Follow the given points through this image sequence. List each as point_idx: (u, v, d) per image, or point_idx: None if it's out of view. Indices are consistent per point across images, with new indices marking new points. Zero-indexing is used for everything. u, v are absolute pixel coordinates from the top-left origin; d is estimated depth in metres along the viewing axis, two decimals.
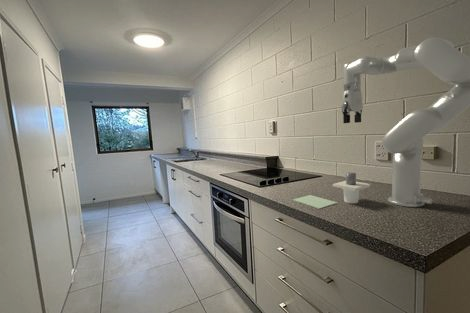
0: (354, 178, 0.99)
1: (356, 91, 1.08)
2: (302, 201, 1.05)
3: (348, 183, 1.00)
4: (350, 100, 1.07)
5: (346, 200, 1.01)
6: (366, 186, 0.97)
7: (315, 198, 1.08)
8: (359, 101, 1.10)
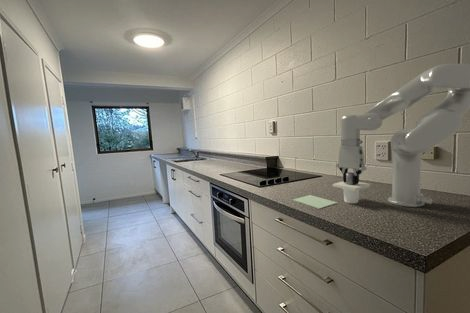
0: None
1: None
2: (302, 201, 1.05)
3: (348, 183, 1.00)
4: (363, 157, 0.96)
5: (346, 200, 1.01)
6: (366, 186, 0.97)
7: (315, 198, 1.08)
8: None
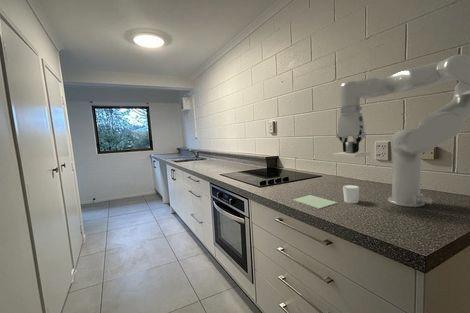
0: None
1: None
2: (302, 201, 1.05)
3: (348, 152, 0.98)
4: (363, 124, 0.95)
5: (346, 200, 1.01)
6: (366, 154, 0.96)
7: (315, 198, 1.08)
8: None
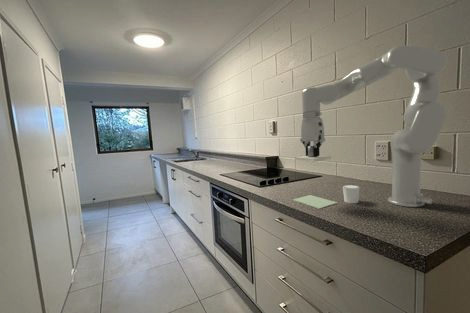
0: None
1: None
2: (302, 201, 1.05)
3: (309, 155, 1.01)
4: (323, 129, 0.98)
5: (346, 200, 1.01)
6: (326, 158, 0.99)
7: (315, 198, 1.08)
8: None
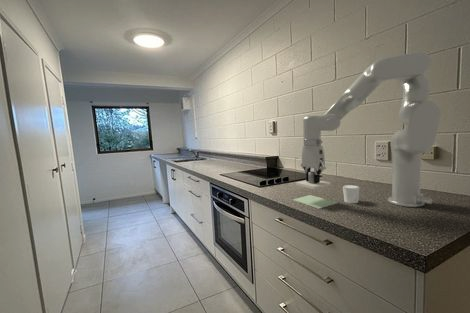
0: None
1: None
2: (302, 201, 1.05)
3: (310, 182, 1.03)
4: (324, 157, 0.99)
5: (346, 200, 1.01)
6: (326, 185, 1.00)
7: (315, 198, 1.08)
8: None
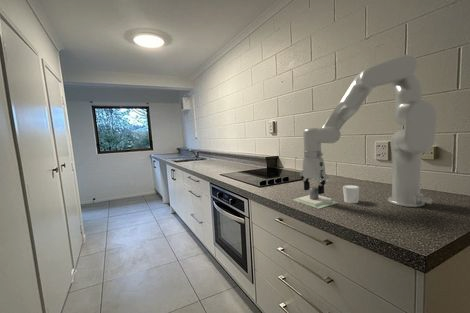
0: (316, 193, 1.02)
1: None
2: None
3: (311, 198, 1.03)
4: (324, 169, 1.00)
5: (346, 200, 1.01)
6: (327, 201, 1.01)
7: None
8: None
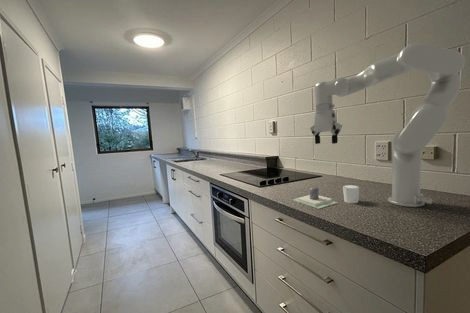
0: (316, 193, 1.02)
1: None
2: None
3: (311, 198, 1.03)
4: (336, 120, 1.05)
5: (346, 200, 1.01)
6: (327, 201, 1.01)
7: None
8: None
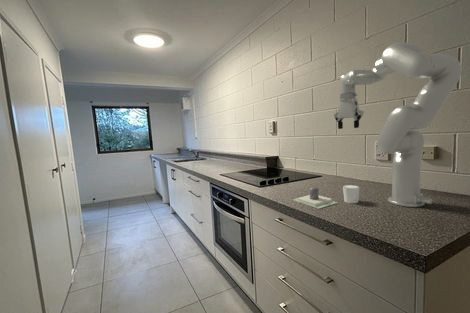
0: (316, 193, 1.02)
1: None
2: None
3: (311, 198, 1.03)
4: (358, 107, 1.19)
5: (346, 200, 1.01)
6: (327, 201, 1.01)
7: None
8: None
